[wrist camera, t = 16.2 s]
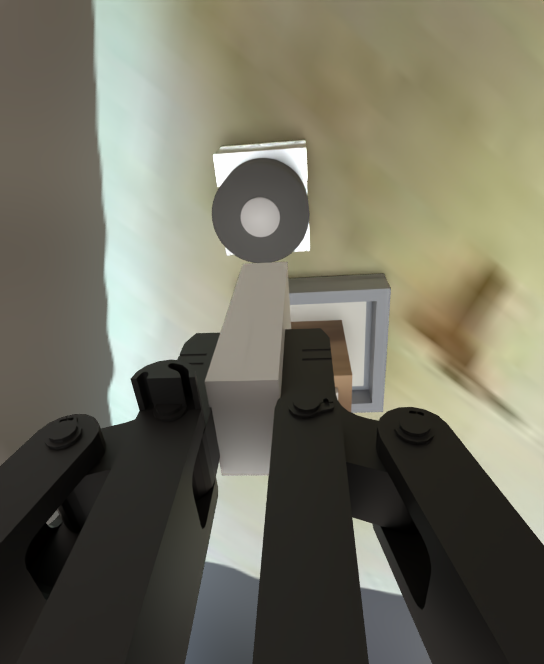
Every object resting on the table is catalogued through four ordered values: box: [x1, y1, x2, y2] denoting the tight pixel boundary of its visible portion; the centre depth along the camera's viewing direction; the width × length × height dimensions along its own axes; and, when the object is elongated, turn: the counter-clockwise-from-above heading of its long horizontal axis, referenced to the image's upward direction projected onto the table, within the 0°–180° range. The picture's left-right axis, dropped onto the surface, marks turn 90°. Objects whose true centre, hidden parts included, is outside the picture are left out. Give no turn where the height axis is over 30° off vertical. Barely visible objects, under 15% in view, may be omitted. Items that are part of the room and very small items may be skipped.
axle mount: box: [213, 139, 310, 255], centre depth 31 cm, size 7×6×4 cm
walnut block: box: [291, 320, 352, 412], centre depth 34 cm, size 5×5×9 cm
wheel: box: [212, 158, 309, 263], centre depth 29 cm, size 6×6×6 cm
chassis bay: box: [288, 274, 391, 413], centre depth 37 cm, size 12×12×3 cm
